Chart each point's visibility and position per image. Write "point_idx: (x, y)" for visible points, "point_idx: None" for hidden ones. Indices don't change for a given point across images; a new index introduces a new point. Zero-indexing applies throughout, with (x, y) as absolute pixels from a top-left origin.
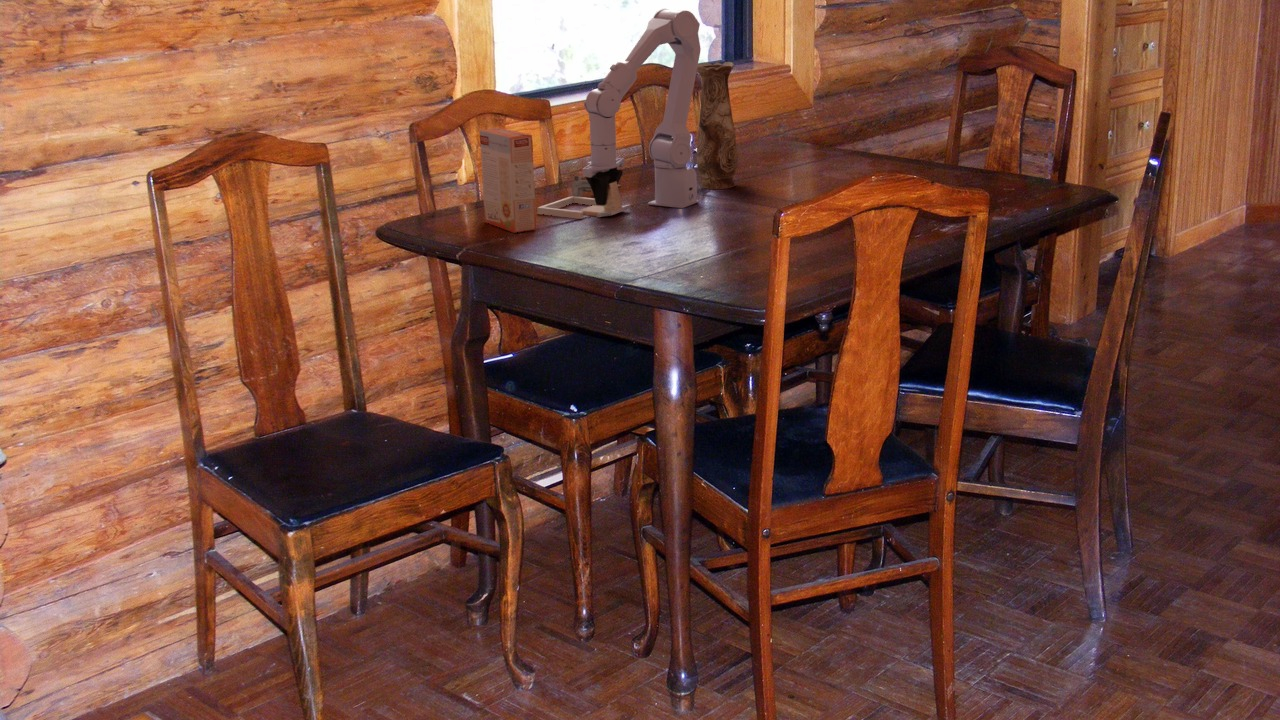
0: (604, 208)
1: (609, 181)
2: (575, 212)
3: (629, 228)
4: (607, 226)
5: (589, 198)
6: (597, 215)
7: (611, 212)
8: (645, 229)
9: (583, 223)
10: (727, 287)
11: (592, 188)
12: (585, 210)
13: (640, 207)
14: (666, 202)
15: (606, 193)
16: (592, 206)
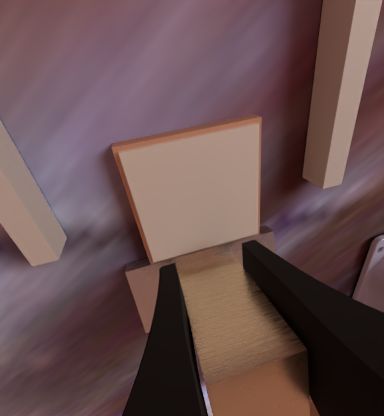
0: (179, 276)
1: (320, 375)
2: (13, 235)
3: (98, 395)
4: (59, 364)
5: (368, 3)
6: (126, 270)
7: (146, 330)
8: (122, 409)
9: (4, 303)
10: None
11: (142, 372)
12: (135, 190)
13: (337, 241)
14: (370, 290)
15: (196, 362)
16: (233, 145)
